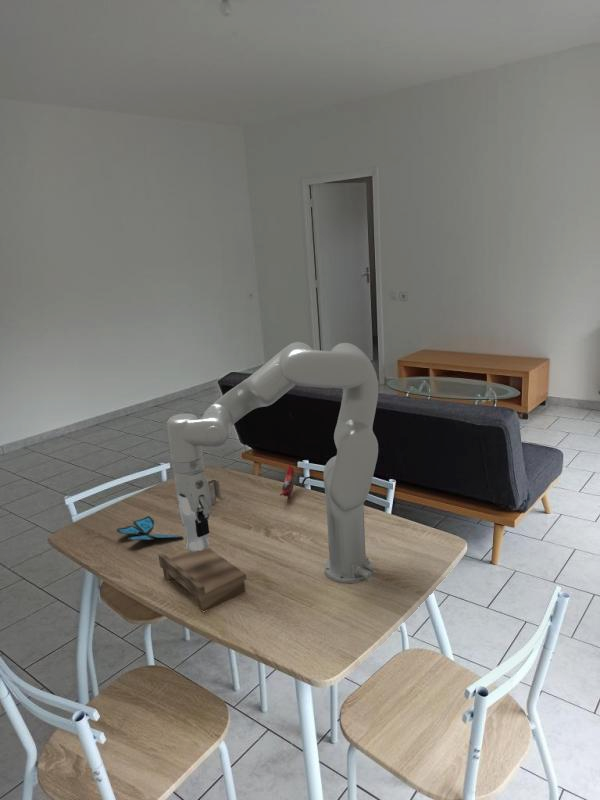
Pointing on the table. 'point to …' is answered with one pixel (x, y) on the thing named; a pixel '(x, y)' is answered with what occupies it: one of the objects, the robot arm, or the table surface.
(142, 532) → the decorative butterfly
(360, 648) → the table surface
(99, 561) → the table surface
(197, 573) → the display ledge
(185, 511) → the beer glass
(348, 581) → the robot arm
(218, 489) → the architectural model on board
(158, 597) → the table surface
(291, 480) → the decorative bird figurine
